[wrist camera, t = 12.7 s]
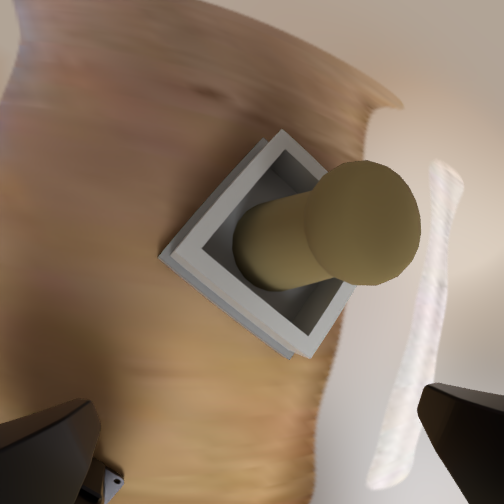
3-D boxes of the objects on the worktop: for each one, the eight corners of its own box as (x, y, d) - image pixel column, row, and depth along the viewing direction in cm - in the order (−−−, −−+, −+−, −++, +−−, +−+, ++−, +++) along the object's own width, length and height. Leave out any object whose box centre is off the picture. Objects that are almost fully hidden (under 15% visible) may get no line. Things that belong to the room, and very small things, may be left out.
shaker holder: (283, 357, 22) (311, 369, 18) (157, 257, 20) (161, 252, 16) (359, 239, 25) (392, 232, 21) (258, 142, 23) (280, 118, 19)
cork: (309, 200, 23) (425, 148, 12) (320, 285, 22) (447, 283, 12) (227, 203, 21) (313, 131, 10) (237, 297, 20) (338, 311, 10)
